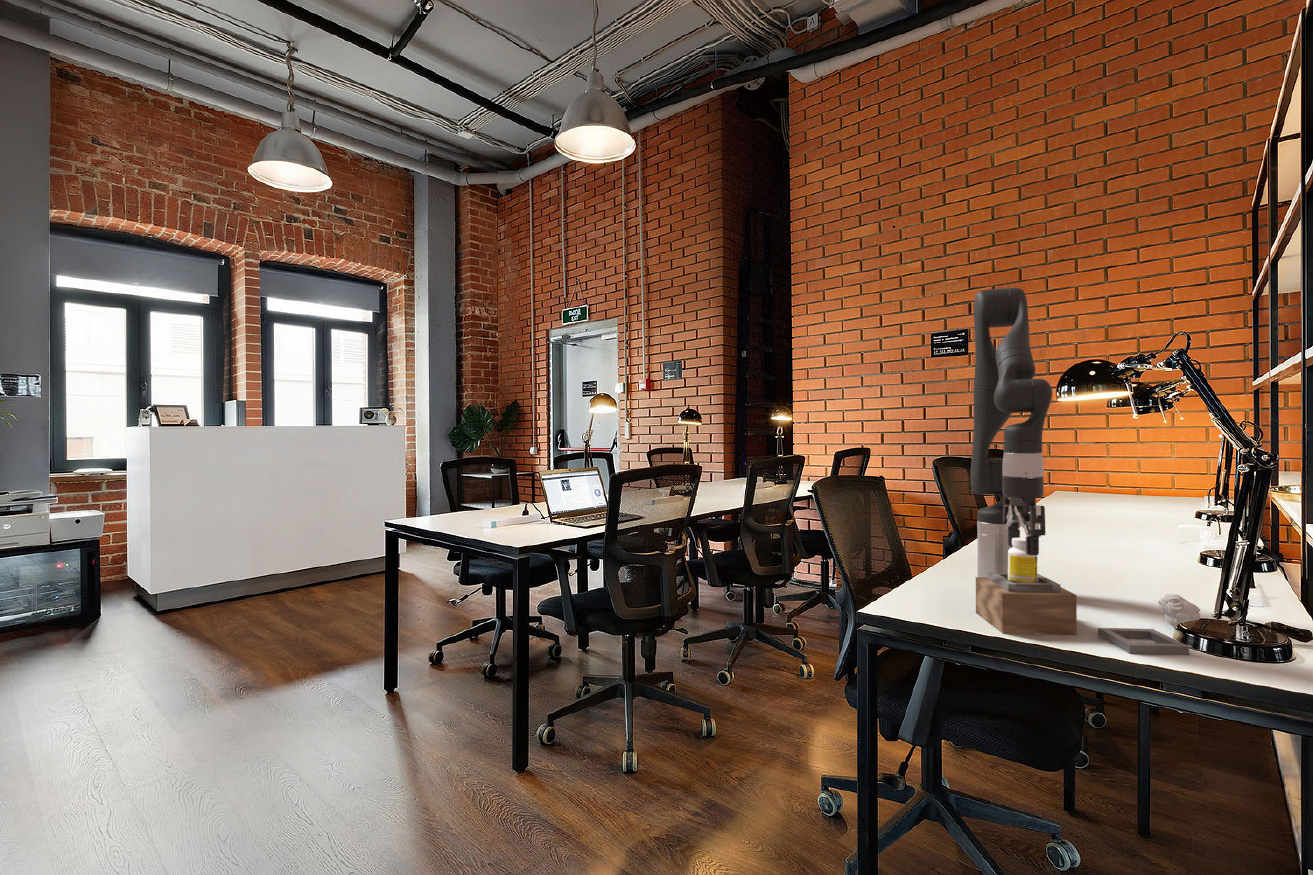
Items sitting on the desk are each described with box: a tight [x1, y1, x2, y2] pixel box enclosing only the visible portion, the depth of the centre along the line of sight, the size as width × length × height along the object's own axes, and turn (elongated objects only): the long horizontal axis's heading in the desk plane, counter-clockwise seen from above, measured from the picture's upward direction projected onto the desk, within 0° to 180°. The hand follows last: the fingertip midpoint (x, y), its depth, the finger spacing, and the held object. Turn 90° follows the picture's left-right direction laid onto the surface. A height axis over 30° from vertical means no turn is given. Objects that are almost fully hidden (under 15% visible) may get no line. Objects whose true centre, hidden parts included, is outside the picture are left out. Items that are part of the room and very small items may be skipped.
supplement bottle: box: [1008, 537, 1038, 583], centre depth 134 cm, size 5×5×10 cm
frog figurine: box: [1157, 593, 1201, 629], centre depth 129 cm, size 6×7×7 cm
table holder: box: [1097, 627, 1190, 656], centre depth 120 cm, size 10×10×2 cm
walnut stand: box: [975, 573, 1078, 636], centre depth 134 cm, size 14×14×10 cm
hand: (1022, 550), depth 134 cm, fingers open, 8 cm apart
